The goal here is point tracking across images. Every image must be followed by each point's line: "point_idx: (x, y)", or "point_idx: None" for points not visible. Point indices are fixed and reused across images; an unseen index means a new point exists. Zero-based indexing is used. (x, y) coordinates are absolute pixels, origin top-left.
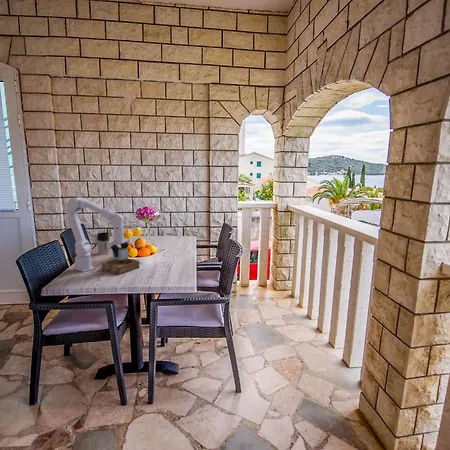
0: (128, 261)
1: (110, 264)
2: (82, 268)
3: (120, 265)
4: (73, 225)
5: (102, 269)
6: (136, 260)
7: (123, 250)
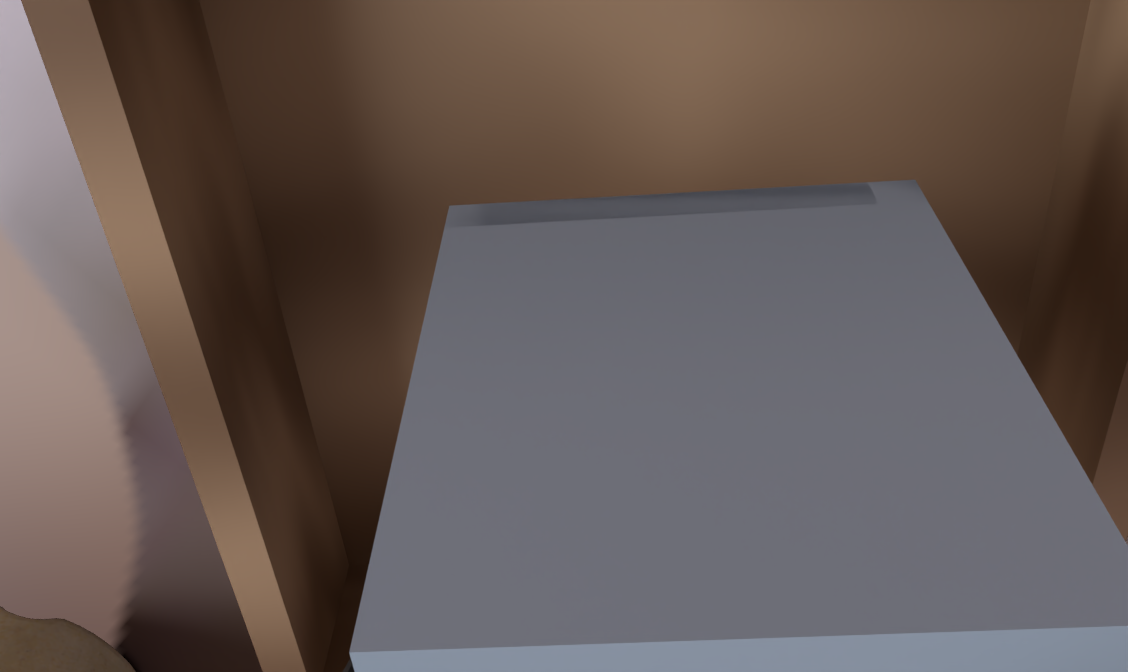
0: (260, 382)
1: (1111, 409)
2: None
3: None
4: None
5: None
6: (53, 6)
7: (865, 605)
